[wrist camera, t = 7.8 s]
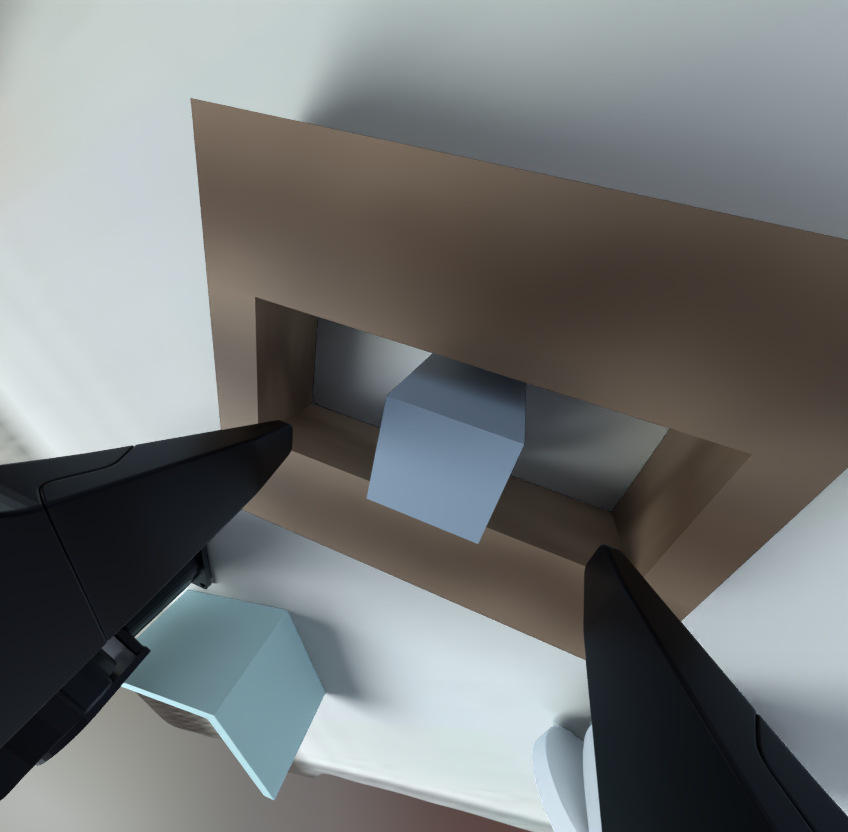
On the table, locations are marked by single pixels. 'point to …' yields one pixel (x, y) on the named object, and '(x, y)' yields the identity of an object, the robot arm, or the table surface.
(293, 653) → the right angle wall
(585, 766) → the spread jar
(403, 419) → the solid blue gray block
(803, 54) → the table surface
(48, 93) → the table surface
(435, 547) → the well block
